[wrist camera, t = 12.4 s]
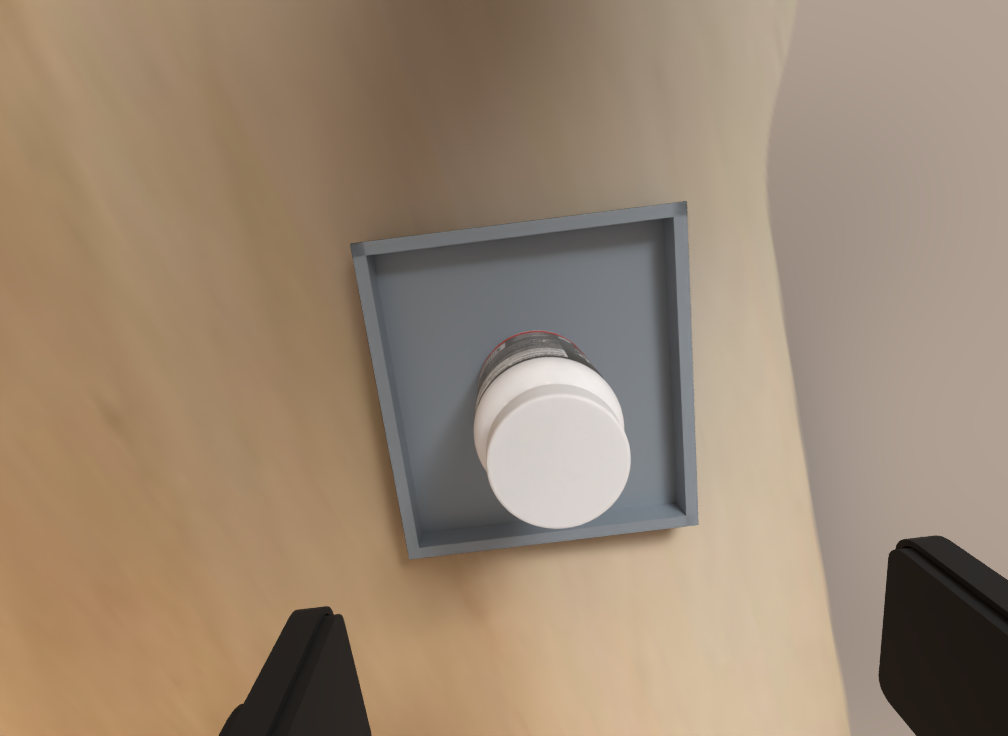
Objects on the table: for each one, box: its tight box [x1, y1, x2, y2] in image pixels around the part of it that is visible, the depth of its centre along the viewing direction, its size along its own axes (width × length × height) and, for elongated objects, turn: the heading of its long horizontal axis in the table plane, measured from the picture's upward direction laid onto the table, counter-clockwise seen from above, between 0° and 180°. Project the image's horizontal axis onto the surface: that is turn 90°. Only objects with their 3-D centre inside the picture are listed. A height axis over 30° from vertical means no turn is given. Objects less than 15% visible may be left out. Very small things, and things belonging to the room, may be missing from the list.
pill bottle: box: [474, 330, 631, 529], centre depth 21 cm, size 6×6×10 cm
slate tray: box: [350, 201, 698, 560], centre depth 26 cm, size 16×15×2 cm
